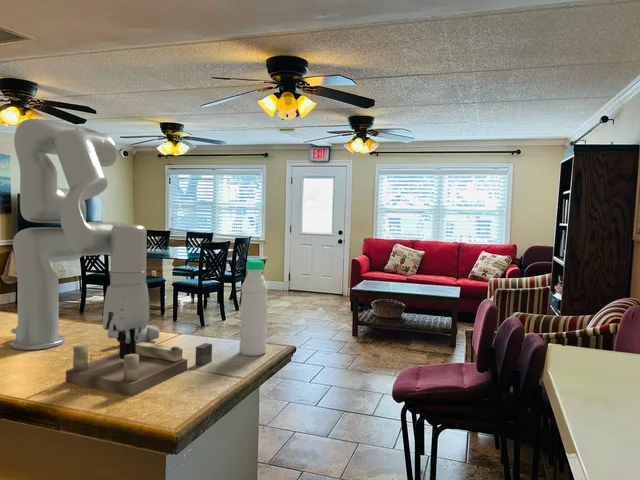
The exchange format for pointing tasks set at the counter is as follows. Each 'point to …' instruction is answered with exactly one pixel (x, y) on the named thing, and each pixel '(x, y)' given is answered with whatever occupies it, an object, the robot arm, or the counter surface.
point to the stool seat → (128, 370)
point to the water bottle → (253, 310)
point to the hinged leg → (159, 351)
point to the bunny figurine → (148, 334)
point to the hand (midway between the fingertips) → (127, 358)
